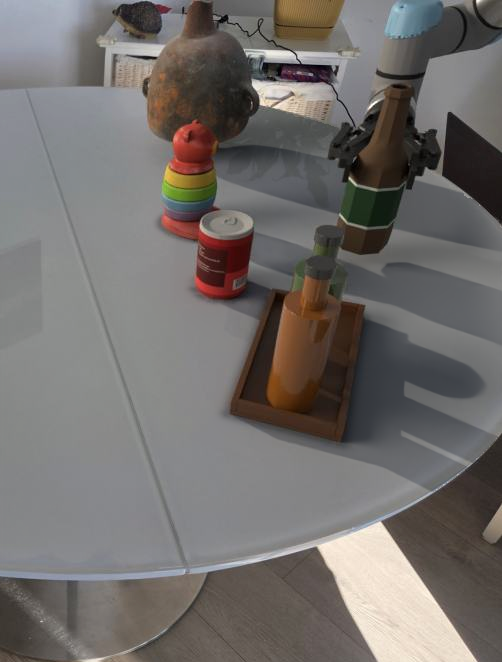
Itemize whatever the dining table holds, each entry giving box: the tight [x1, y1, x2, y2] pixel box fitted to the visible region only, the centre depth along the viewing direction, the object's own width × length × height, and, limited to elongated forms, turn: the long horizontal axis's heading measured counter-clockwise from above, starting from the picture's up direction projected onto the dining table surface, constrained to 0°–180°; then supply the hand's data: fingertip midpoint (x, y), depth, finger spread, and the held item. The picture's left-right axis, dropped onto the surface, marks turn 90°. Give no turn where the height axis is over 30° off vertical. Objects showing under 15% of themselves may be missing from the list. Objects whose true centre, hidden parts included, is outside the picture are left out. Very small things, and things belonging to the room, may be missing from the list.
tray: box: [228, 287, 366, 443], centre depth 83 cm, size 13×26×2 cm, turn 154°
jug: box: [141, 0, 261, 144], centre depth 131 cm, size 24×21×30 cm
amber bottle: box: [266, 255, 341, 414], centre depth 72 cm, size 6×6×19 cm
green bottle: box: [289, 224, 349, 305], centre depth 77 cm, size 6×6×19 cm
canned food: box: [194, 209, 255, 300], centre depth 95 cm, size 8×8×11 cm
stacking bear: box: [161, 120, 222, 241], centre depth 109 cm, size 11×10×18 cm
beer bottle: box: [336, 83, 415, 256], centre depth 93 cm, size 8×8×24 cm
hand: (378, 176), depth 89 cm, fingers closed on beer bottle, 7 cm apart
